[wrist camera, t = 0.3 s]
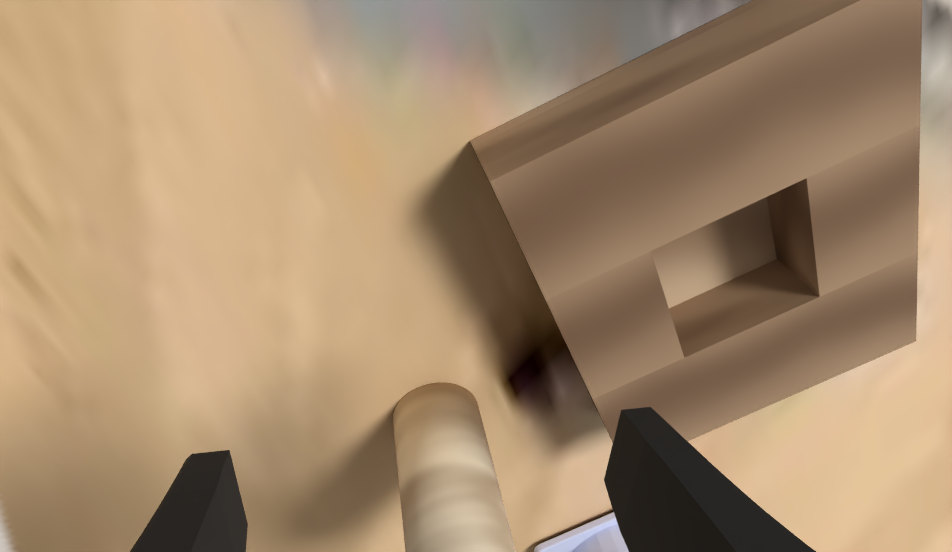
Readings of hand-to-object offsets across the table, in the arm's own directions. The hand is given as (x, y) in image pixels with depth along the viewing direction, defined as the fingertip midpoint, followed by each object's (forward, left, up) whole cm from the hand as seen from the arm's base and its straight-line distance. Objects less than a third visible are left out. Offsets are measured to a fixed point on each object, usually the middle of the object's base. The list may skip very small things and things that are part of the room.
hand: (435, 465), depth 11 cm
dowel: (-9, +3, -10) cm, 14 cm away
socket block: (-6, -9, -10) cm, 15 cm away
